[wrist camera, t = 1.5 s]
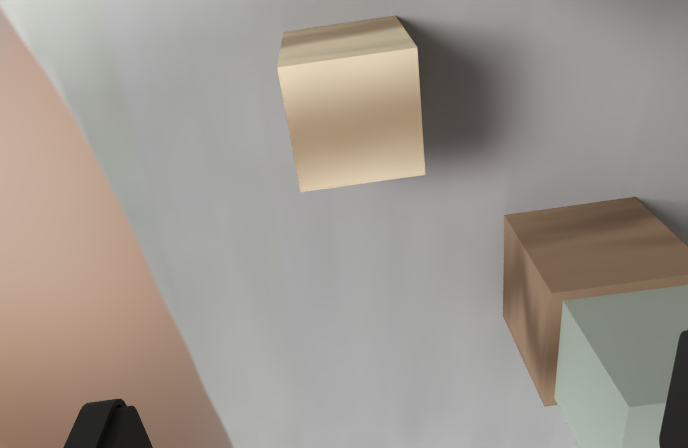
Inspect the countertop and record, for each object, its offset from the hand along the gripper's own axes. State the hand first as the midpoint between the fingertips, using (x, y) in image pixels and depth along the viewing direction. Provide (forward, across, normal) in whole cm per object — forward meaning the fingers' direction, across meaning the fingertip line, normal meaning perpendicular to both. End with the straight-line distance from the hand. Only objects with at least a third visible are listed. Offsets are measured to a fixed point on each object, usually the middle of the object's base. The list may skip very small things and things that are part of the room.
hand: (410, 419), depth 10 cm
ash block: (+20, 0, -1) cm, 20 cm away
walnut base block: (+20, -11, +11) cm, 25 cm away
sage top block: (+13, -11, +11) cm, 20 cm away
